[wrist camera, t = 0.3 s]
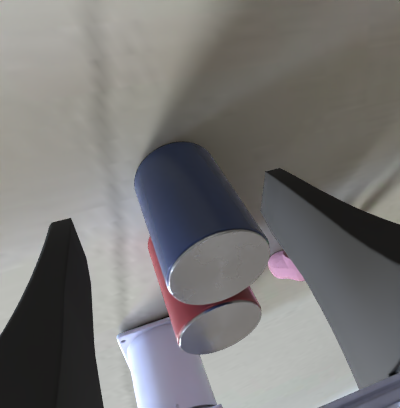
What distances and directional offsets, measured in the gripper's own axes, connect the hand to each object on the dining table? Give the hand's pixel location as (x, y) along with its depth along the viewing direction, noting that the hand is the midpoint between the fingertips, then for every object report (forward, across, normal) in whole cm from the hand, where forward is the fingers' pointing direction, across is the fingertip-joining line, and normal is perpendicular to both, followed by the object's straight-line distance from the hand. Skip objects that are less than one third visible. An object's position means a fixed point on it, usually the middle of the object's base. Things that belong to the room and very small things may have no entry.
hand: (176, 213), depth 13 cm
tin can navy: (+10, -2, +6) cm, 12 cm away
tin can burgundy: (+10, -3, +13) cm, 16 cm away
